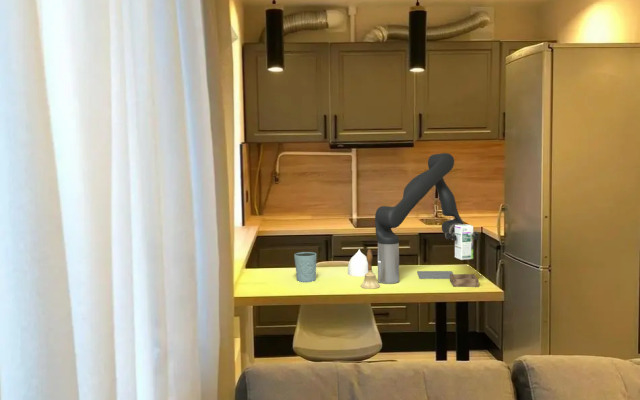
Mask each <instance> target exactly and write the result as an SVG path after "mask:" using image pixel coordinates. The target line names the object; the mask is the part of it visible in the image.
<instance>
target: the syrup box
mask: <svg viewBox="0 0 640 400" xmlns="http://www.w3.org/2000/svg"><path fill="white" fill-rule="evenodd" d="M473 232H474V225H473V224H466V223H464V224H463V225H455V235H456V241H454V258H456V259H458V260H461V261H463V260H474V241H473Z"/></svg>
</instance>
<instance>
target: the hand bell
mask: <svg viewBox="0 0 640 400" xmlns="http://www.w3.org/2000/svg"><path fill="white" fill-rule="evenodd" d="M366 257H367V262H368V273H366V274H365V276H364V279H363V282H362V284H361V285H360V287H361V288H363V289H365V290H374V289H379V288H380V287H381V285H380V284H379V283H378V279H377V276H376V273H374V272H373V269H372V268H373V265H372V264H373V260H374V259H373V258H374V257H373V252H372V249H367V252H366Z"/></svg>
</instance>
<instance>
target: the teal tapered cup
mask: <svg viewBox="0 0 640 400" xmlns="http://www.w3.org/2000/svg"><path fill="white" fill-rule="evenodd" d="M293 255H294V265H295V272H296V273H295V274H296V275H295V276H296V281H297V282H298V281H299V282H300V283H311V282H312V281H313V282H316V279H317V255H318V254H317V253H316V252H313V251H301V252H296V253H294V254H293ZM299 282H298V283H299Z"/></svg>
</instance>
